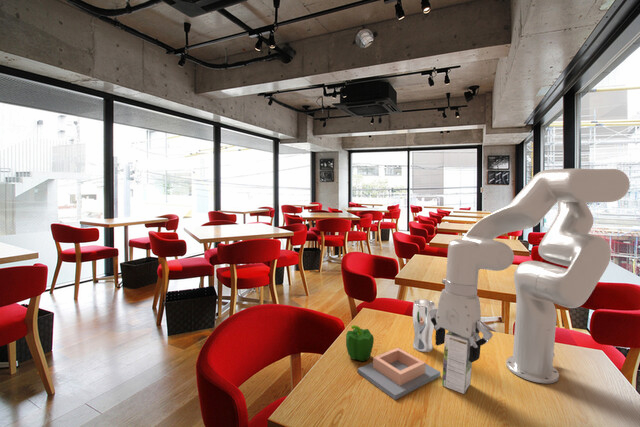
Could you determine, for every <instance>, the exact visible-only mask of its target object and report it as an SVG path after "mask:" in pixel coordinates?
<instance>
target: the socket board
mask: <svg viewBox="0 0 640 427" xmlns="http://www.w3.org/2000/svg"><path fill="white" fill-rule="evenodd" d="M372 360H373V361H372V362H370V363H367V364H365V365H363V366H360V367H358V368H357V373H358V374H359V375H360V376H362V377H363V378H365V380H367V381H368V382H370V383H371V384H373V385H374V386H375V387H377V389H379V390H381V391H382V392H383V393H385V394H386V395H388V396H389V397H390V398H391V399H393V400H395V401H396V400H398V399H400V398H403V396H406V395H408V394H409V393H411V392H412V391H414V390H417V389H418V388H420V387H422V386H424V385H426V384H428V383H430V382H432V381H434V380H436V379H437V378H439V377H441V371H439V370H438V369H436V368H434V367H433V366H430V365H429V364H427V363H426V362H425V361H423V360H422V359H420V358H418V357H416V356H414V355H412V353H409V352H406V351H405V350H403V349H402V348H400V347H395V348H393V349H390V350H387V351H386V352H383V353H381V354H378V355H376V356H373V358H372Z"/></svg>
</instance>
